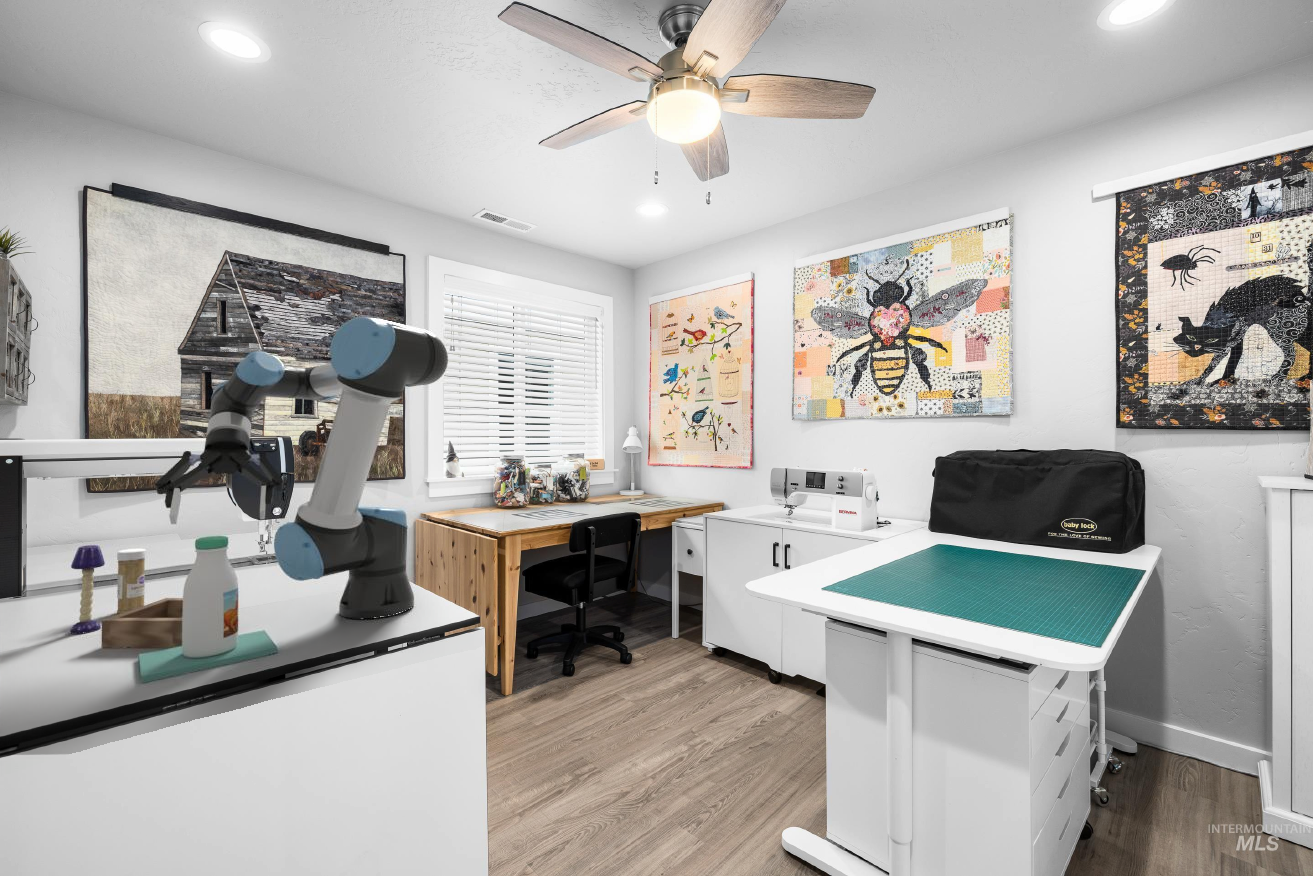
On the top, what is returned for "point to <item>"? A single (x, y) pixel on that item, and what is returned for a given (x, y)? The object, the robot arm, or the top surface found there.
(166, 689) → the top surface
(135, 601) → the sprinkles bottle
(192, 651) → the milk bottle
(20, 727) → the top surface
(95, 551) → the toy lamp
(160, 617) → the walnut holder
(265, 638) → the green mat
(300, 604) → the top surface
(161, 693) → the top surface
